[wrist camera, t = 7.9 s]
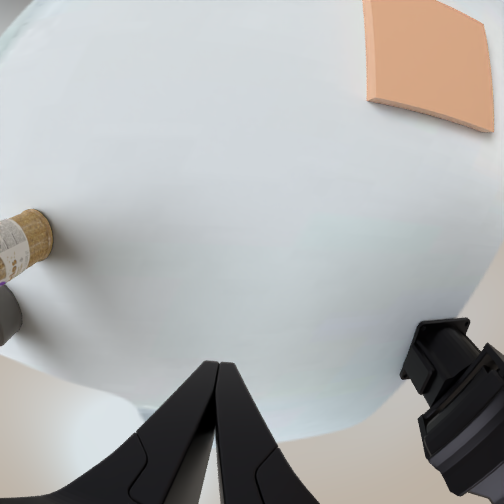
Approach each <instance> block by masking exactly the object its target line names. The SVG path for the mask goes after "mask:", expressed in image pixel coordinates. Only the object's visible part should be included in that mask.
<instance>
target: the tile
mask: <svg viewBox="0 0 504 504" xmlns="http://www.w3.org/2000/svg"><path fill="white" fill-rule="evenodd" d="M362 1H363V12H364V24H365V41H366V67H367V101H370V102H375V103H380V104H385V105H390V106H395V107H399V108H403V109H408V110H412V111H416V112H420V113H423V114H427V115H431V116H434V117H438V118H441V119H445V120H448V121H451V122H454V123H457V124H461V125H464V126H467V127H469V128H472V129H475V130H478V131H481V132H494V106H493V88H492V76H491V67H490V59H489V52H488V45H487V40H486V34H485V29H484V24H482V23H481V22H479V21H477V20H475V19H473V18H471V17H470V16H468V15H466V14H464V13H462V12H460V11H458V10H456V9H454V8H452V7H450V6H447V5H445V4H443V3H441V2H439V1H436V0H362Z"/></svg>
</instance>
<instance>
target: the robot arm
mask: <svg viewBox="0 0 504 504" xmlns="http://www.w3.org/2000/svg"><path fill="white" fill-rule="evenodd" d="M469 325H470V320H469V319H468V318H457V319H447V320H436V321H424V322H421V323H419V324H418V326H417V329H416V332H415V335H414V338H413V340H412V343H411V346H410V349H409V351H408V354H407V357H406V359H405V362H404V364H403V367H402V370H401V372H400V377H401V379H402V380H405V379H411V381H412V383H413V384H414V386H415V388H416V390H417V392H418V393H419V394H420V395H423V396H424V398H425V399H426V401H427V403H428V404H429V406H430V409H429V410H428V411H427V412H426V413H425V414H422V415H421V416H420V417H419V418H418V423H419V427H420V432H421V437H422V442H423V447H424V452H425V457H426V459H428V461H429V463H430V464H432V466H434V467H435V468H436V469H437V470H438V471H440V472H441V474H442V476H443V478H444V480H445V482H446V484H447V486H448V488H449V490H450V492H452V493H454V494H455V495H457V496H463V495H464V494H466V493H467V492H468V493H471V494H475V495H478V496H482V497H485V498H488V499H489V500H490V502H491V503H492V504H504V355H502V354H501V353H500V352H499V351H497V350H496V349H495V348H494V347H492V346H491V345H490V344H489V343H486V345H485V346H484V347H483V348H484V349H483V350H482V351H480V350H479V349H478V348H477V347H476V346H475V344H474V343H473V342H472V341H471V340H470V339H469V338H468V337H467V336H466V332H467V329H468V327H469ZM422 327H423V328H422ZM421 328H422V329H421ZM215 432H216V452H217V466H218V479H219V491H220V501H221V504H320V503H319V502H318V501H317V500H316V499H315V498H314V496H313V495H312V494H311V493H310V492H309V491H308V490H307V488H306V487H305V486H304V485H303V483H302V482H301V481H300V480H299V478H298V477H297V476H296V474H295V473H294V471H293V470H292V468H291V467H290V465H289V463H288V462H287V460H286V459H285V457H284V455H283V453H282V452H281V450H280V448H278V445H277V443H276V441H275V439H274V438H273V436H272V434H271V432H270V430H269V429H268V427H267V425H266V423H265V421H264V419H263V418H262V416H261V414H260V412H259V410H258V408H257V406H256V404H255V402H254V400H253V399H252V397H251V395H250V393H249V391H248V389H247V387H246V385H245V383H244V381H243V379H242V377H241V375H240V373H239V371H238V369H237V367H236V365H235V364H234V363H231V362H220V364H219V362H217V361H204V362H203V363H202V364H201V365H200V366H199V367H198V368H197V369H196V370H195V371H194V372H193V373H192V375H191V376H190V377H189V378H188V379H187V380H186V381H185V382H184V383H183V384H182V385H181V386H180V387H179V388H178V389H177V390H176V391H175V392H174V393H173V394H172V395H171V396H170V397H169V398H168V399H167V400H166V401H165V403H164V404H163V405H162V406H161V407H160V408H159V409H158V410H157V411H156V412H155V413H154V414H153V415H152V416H151V417H150V418H149V419H148V420H147V421H146V422H145V423H144V424H143V425H142V426H141V427H140V428H139V429H138V430H137V431H136V433H133V435H131V437H129V438H128V439H127V440H126V441H125V442H124V443H123V444H122V445H121V446H120V447H119V448H118V449H116V450H115V451H114V452H113V453H112V454H111V455H109V456H108V457H107V458H105V459H104V460H103V461H101V462H100V463H99V464H97V465H96V466H94V467H93V468H92V469H90V470H89V471H87V472H86V473H84V474H83V475H82V476H80V477H78V478H77V479H76V480H74V481H73V482H71V483H70V484H68V485H67V486H65V487H63V488H62V489H60V490H58V491H55V492H53V493H50V494H46V495H41V496H31V497H17V498H0V504H198V502H199V498H200V494H201V490H202V486H203V481H204V477H205V473H206V469H207V465H208V460H209V456H210V452H211V448H212V444H213V439H214V434H215Z"/></svg>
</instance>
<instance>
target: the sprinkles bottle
mask: <svg viewBox="0 0 504 504" xmlns="http://www.w3.org/2000/svg"><path fill="white" fill-rule="evenodd" d="M52 244H53V237H52V231H51V227H50V225H49V223H48V221H47V219H46V218H45V217H44V216H43V215H42V213H40V212H39V211H37V210H35V209H28V210H26V211H23V212H22V213H21V214H19V215H16V216H14V217H12V218H9V219H4V220H1V221H0V287H1V286H3V285H4V284H5V283H7V282H8V281H10V280H11V279H13V278H15V277H16V276H18V275H19V274H21V273H22V272H23V271H25V269H27V268H28V267H30V266H32V265H33V264H35V263H36V262H39V261H42V260H44V259H45V258H46V257H48V255H49V253H50V252H51V249H52Z"/></svg>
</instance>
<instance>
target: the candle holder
mask: <svg viewBox="0 0 504 504" xmlns="http://www.w3.org/2000/svg"><path fill="white" fill-rule="evenodd" d="M21 325H22V314H21V311H20V308H19V305H18V303H17V301H16V299H15V297H14V295H13V294H12V292H11V291H10V290H9V289H8V288H7V286H6V285H3V286H1V287H0V346H2V345H4V344H5V343H6V342H7V341H8V340H9V339H10V338H11V337H12V336H13V335H14V334H15V333H16V332H17V331H18V330H19V329H20V327H21Z"/></svg>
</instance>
